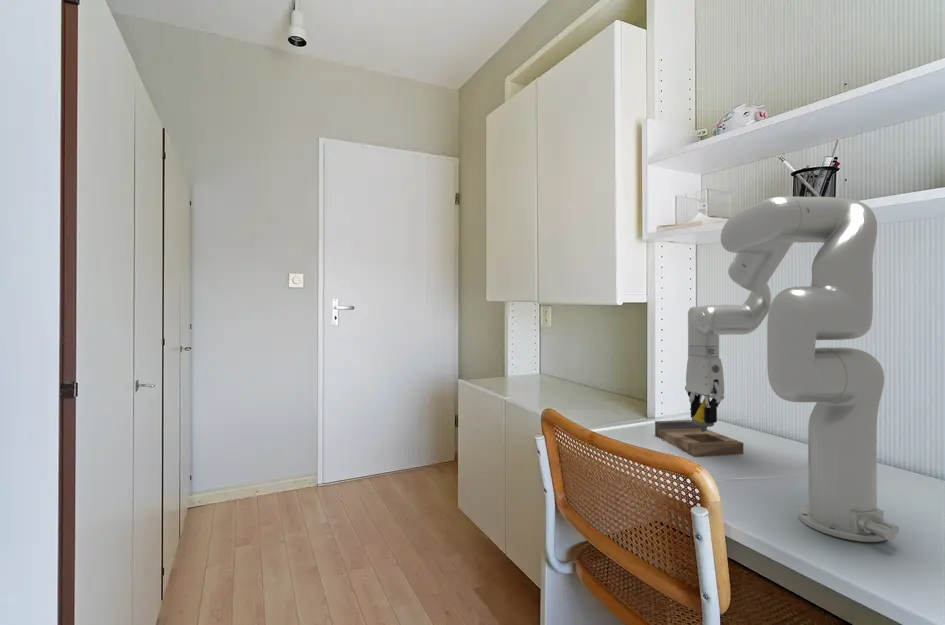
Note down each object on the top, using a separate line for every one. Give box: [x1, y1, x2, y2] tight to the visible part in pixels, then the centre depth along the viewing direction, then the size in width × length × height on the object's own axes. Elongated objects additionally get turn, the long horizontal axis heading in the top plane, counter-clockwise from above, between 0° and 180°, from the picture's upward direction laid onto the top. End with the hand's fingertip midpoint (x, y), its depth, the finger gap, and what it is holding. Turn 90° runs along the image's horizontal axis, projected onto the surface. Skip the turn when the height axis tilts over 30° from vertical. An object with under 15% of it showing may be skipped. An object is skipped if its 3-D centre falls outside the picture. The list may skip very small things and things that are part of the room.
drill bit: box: [691, 397, 715, 432], centre depth 124 cm, size 5×5×10 cm
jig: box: [654, 419, 744, 458], centre depth 127 cm, size 18×14×5 cm
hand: (703, 419), depth 124 cm, fingers closed on drill bit, 5 cm apart
